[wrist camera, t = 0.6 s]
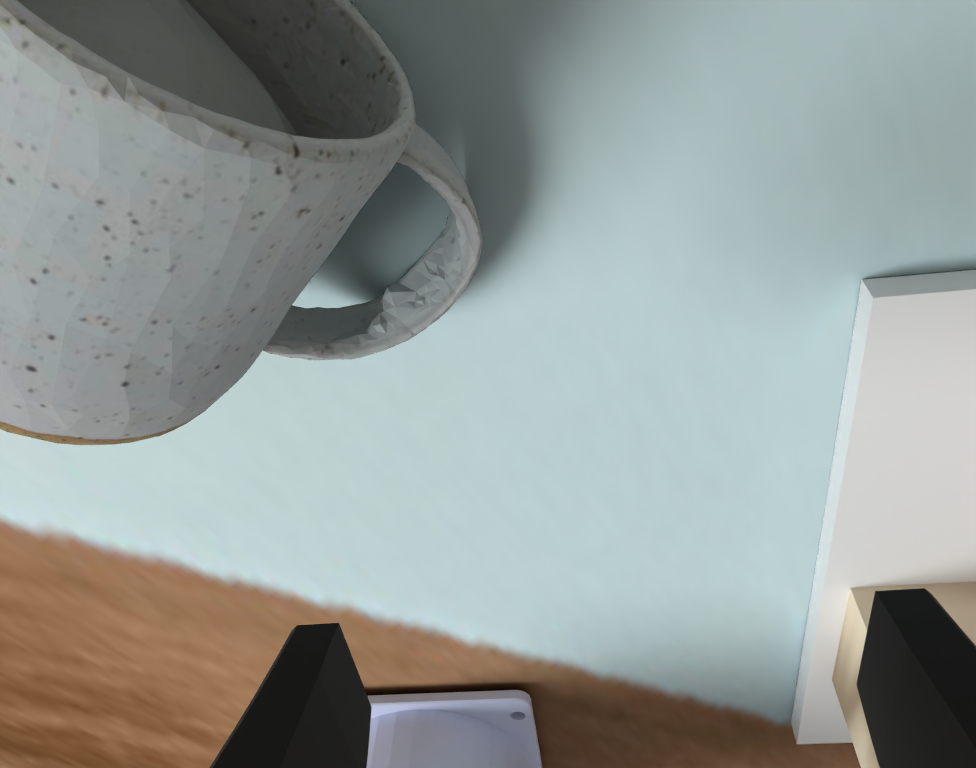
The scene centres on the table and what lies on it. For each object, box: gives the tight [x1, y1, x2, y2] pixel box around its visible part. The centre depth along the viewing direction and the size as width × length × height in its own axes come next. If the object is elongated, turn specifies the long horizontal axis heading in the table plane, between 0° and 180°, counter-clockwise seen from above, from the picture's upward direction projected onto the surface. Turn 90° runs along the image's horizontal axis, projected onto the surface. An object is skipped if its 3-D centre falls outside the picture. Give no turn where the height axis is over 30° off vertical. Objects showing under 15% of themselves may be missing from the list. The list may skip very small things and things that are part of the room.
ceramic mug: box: [0, 0, 482, 445], centre depth 15 cm, size 10×8×7 cm
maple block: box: [832, 582, 976, 768], centre depth 23 cm, size 4×4×4 cm
